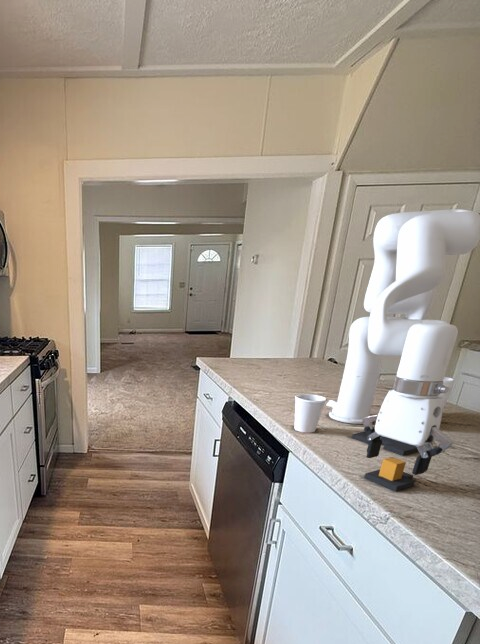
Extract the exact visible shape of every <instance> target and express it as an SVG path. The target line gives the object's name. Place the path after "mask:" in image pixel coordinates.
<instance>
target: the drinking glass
mask: <svg viewBox="0 0 480 644" xmlns="http://www.w3.org/2000/svg"><path fill="white" fill-rule="evenodd" d="M443 382H444V383H443V385H444V386H446V387H449V390H448V392H447V393H446V394H444V393H441V394H440V395H439V396H440V397H443V410H444V409H445V407H446V404H447V403H448V400H449V398H450V395H451V392H452V389H453V386H454V383H455V378H452V377H447V376H444V379H443Z"/></svg>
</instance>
